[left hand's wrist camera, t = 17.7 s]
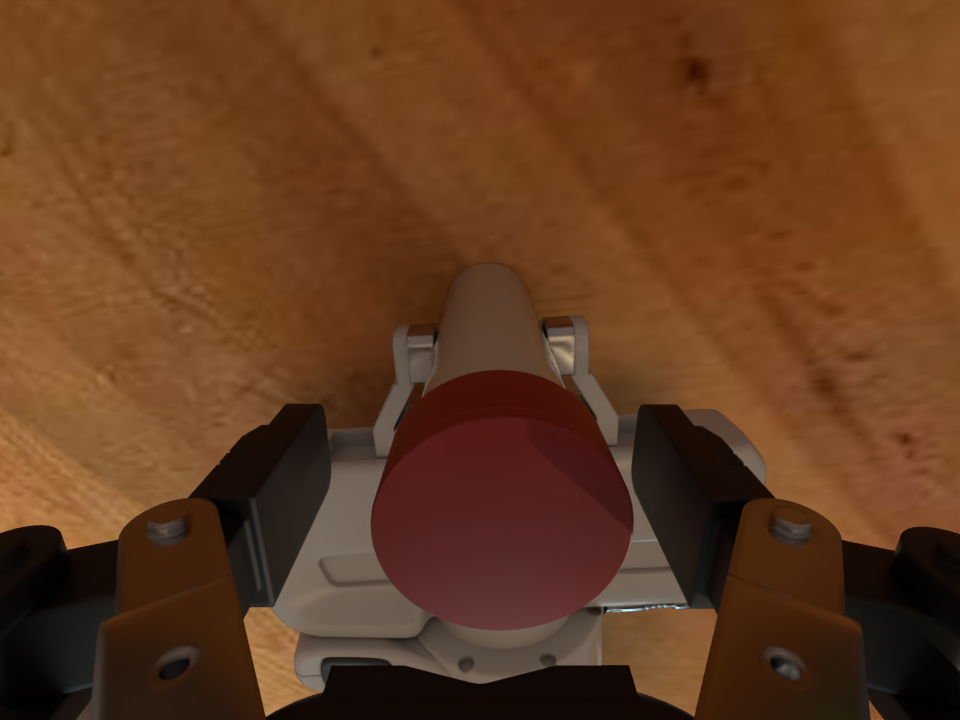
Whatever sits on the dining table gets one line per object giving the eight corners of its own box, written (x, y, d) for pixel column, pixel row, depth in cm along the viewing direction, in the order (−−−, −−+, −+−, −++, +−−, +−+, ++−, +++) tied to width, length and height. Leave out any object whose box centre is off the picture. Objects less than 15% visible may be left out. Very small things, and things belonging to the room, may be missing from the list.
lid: (567, 572, 12) (584, 651, 10) (372, 531, 12) (350, 605, 10) (639, 398, 11) (675, 452, 9) (414, 344, 10) (398, 387, 8)
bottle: (445, 342, 25) (397, 593, 10) (446, 260, 24) (393, 417, 9) (526, 346, 25) (593, 599, 10) (533, 264, 24) (620, 425, 9)
